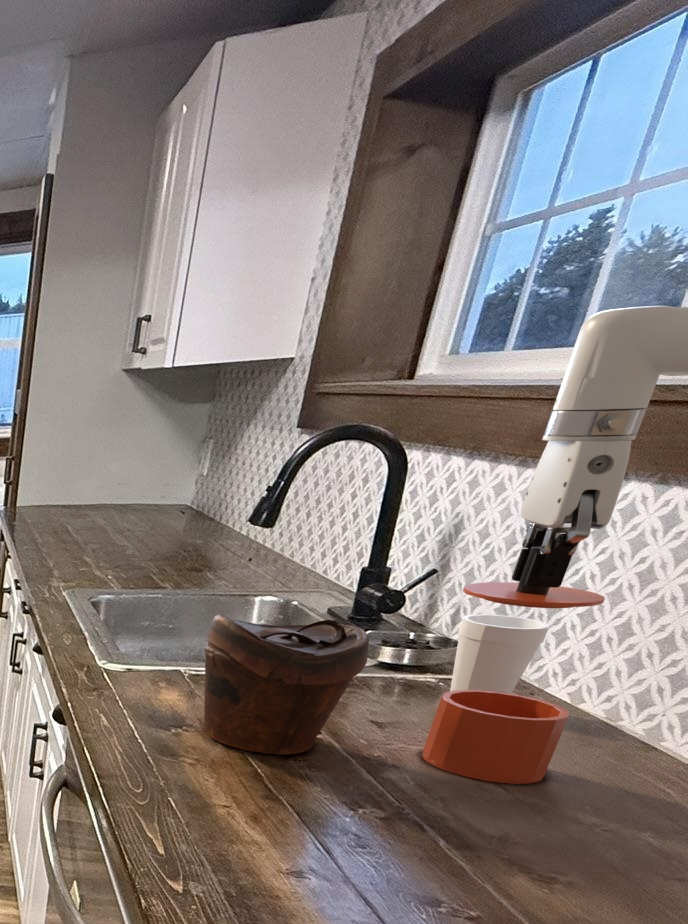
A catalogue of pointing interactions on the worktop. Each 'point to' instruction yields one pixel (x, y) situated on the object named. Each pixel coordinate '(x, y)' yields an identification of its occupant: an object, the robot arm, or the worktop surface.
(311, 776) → the worktop surface
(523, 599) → the pot lid
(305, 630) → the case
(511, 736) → the pot
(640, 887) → the worktop surface
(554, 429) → the robot arm
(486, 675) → the foam cup
